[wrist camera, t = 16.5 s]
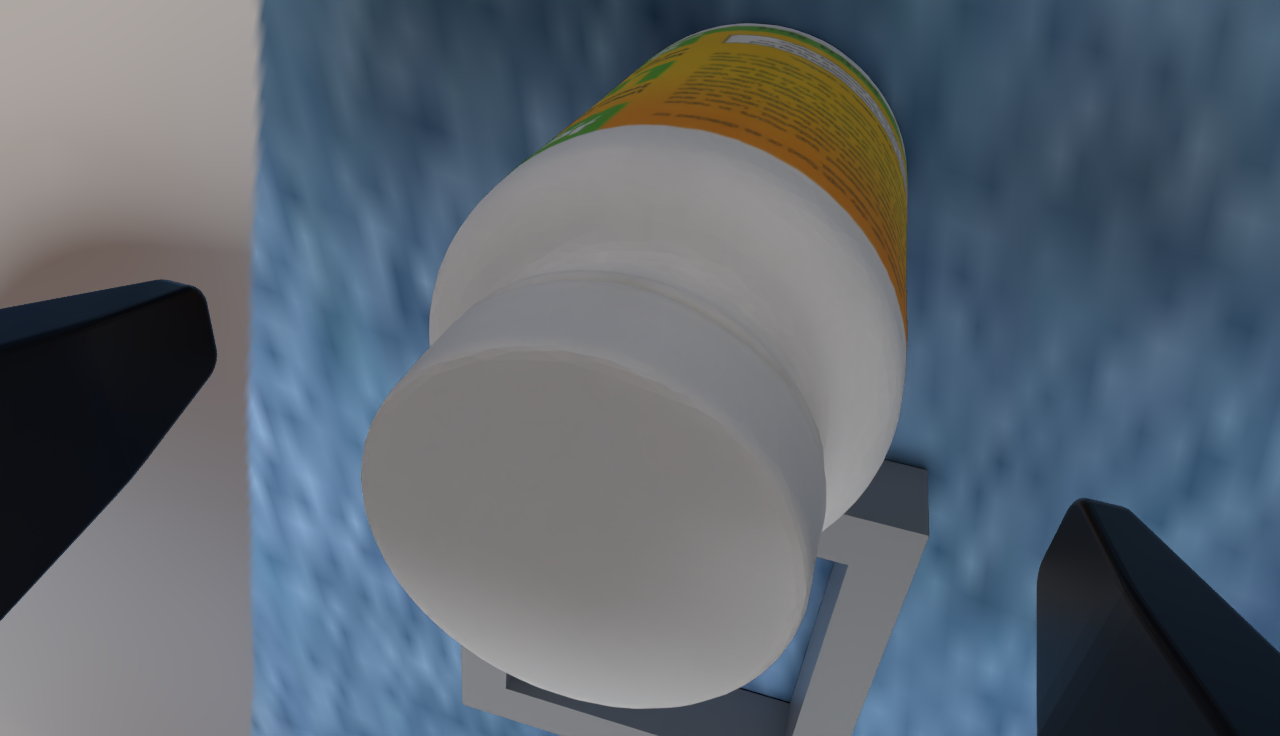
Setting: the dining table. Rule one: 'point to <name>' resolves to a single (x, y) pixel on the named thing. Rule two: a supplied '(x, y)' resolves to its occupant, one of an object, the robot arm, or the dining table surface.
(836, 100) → the supplement bottle
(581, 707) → the open rectangular frame
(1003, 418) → the dining table surface
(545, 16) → the dining table surface
